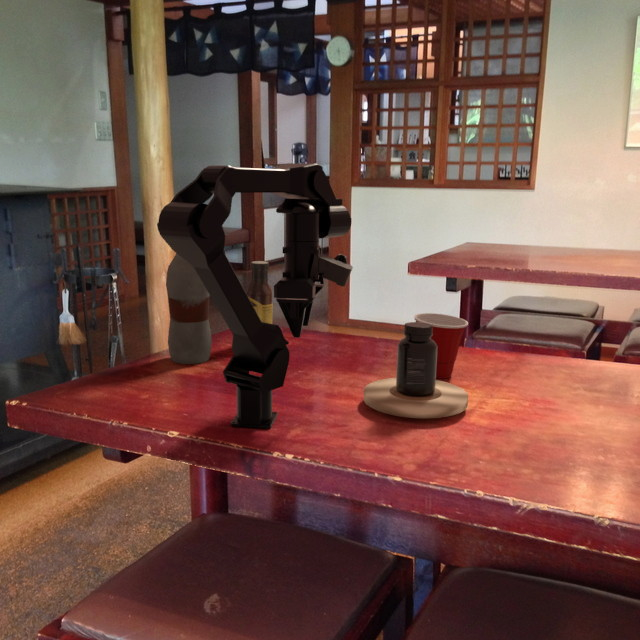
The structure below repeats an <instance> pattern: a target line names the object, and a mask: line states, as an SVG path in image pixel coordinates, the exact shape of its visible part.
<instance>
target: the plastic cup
mask: <svg viewBox="0 0 640 640" xmlns="http://www.w3.org/2000/svg"><path fill="white" fill-rule="evenodd" d="M413 317H414V321H415V322H422V323H428V324H431V325H432V326H433V329H432V333H433V336H432V337H431V339H432V340H434V341H435V342H436V344H437V367H436V380H442V379H443V380H444V379H448V378H449V379H450V377H452V374H453V371H454V366H455V362H456V360H457V355H458V351H459V348H460V344H461V341H462V337H463V334H464V333H465V329H466V328H467V327H468V325H469V322H468V321H467V320H466V319H464V318H461V317H457V316H453V315H450V314H443V313H432V312H430V313H429V312H423V313H417V314H414V316H413Z"/></svg>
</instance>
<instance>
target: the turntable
mask: <svg viewBox="0 0 640 640" xmlns="http://www.w3.org/2000/svg"><path fill="white" fill-rule="evenodd" d="M363 402H364V404H365V405H367V406H368V407H369V408H371V409H373V410H375V411H377V412H381V413H383V414H387V415H391V416H396V417H401V418H402V417H403V418H410V419H411V418H412V419H439V418H446V417H452V416H455V415H459V414H461V413H462V412H464V411H466V409H467V408H468V404H469V395H468V392H467V391H466V390H465V389H463V388H462V387H460V386H458V385H455V384H453V383H450V382H446V381H443V380H440V379H436V385H435V392H434V393H433V394H432V395H430V396H425V397H412V396H406V395H403V394H400V393H399V392H398V391H397V389H396V377H388V378H383V379H379V380H374V381H372V382H370V383H368V384H366V385H365V386H364V389H363Z"/></svg>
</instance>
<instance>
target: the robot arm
mask: <svg viewBox="0 0 640 640" xmlns="http://www.w3.org/2000/svg"><path fill="white" fill-rule="evenodd" d="M239 193H240V194H241V193H244V194H245V193H246V194H248V193H253V194H254V193H256V194H257V193H263V194H264V193H267V194H268V193H270V194H273V195H274V196H276V197H281V198H284V200H283V202H282V203H281V204H279V205H278V206H277V208H276V209H275V211H276V213H277V214H284V246H282V254H284V270H283V271H282V278H281V279H279V280H278V281H277V282H276V283H274V284H275V285H273V298H275V301H276V302H277V304H278V306H279V307H280V310H281V312H282V314H283V316H284V318H285V321H286V323H287V325H288V327H289V330H290V332H291V335H292V337H293V338H297V339H299V338H301V335H302V330H303V327H307V326H309V322H310V319H311V316H312V315H311V314H312V311H313V305H314V301H315V298H316V295H317V294H319V292H320V291H322V289H324V286H325V285H324V284H326V280H328V281H330V282H333V283H335V284H336V285H337V286H340V287H343V288H345V287H346V285H347V283H348V281H349V278H350V275H351V273H352V271H353V268H354V267H353V266H352V265H351V264H349V263H348V257H347V256H346V255H345V254H342V253H338V254H337V255H336V256H335V257H334V258H333V257H332V256H327V255H325V254H323V247H321V244H320V239H329V238H339V237H343V236H345V235H347V233H349V232H350V230H351V226H352V217H351V214H350V212H349V210H348V208H347V207H345V206H344V205H343V198H339V197H338V198H337V197H336V196H335V193H334V191H333V188H332V186H331V184H330V181H329V179H328V177H327V175H326V173H325V171H324V167H323V165H321V164H319V163H286V164H281V165H276V166H274V167H272V168H256V167H255V168H253V167H252V168H251V167H234V166H232V165H224V164H223V165H208V166H206V167H204V168H203V169H202V170H201V171H200V172H199V174H198V175H197V176H196V178H195V179H194V180H192V181H191V182H190V183H189V184H188V185H186V186H185V187H184V188H182V189H181V190H179V191H178V192H177V193H176V194H175V195H174V197H173V198H172V199H171V201H170V202H169V203H167V204H166V205H164V206H163V208H162V209H161V210H160V213H159V216H158V221H157V224H156V225H157V230H158V232H159V236H160V237H161V238H162V239H163V241H164V242H165V243H166V244H167V245H168V246H169V248H171V250H172V251H173V252H174V253H175V254H176V253H177V254H178V255H180V256H181V257H182V258H184V259H185V260H186V261H188V262H189V263H190V264H191V265H192V266H193V267H194V269H195V270H196V272H197V274H198V276H199V277H200V279H201V281H202V282H203V284H204V286H205V288H206V289H207V291H208V293H209V294H210V297H211V299H212V302H213V303H214V305H215V306H216V308H217V309H218V311H219V313H220V315H221V317H222V319H223V320H224V322H225V323H226V325H227V327H228V328H229V330H230V332H231V334H232V343H231V350H232V353H233V355H232V356H231V358H230V360H229V362H228V363H227V365H226V366H225V368H224V369H223V372H222V373H223V377H224V381H225V383H228V384H232V385H236V415H235V416H234V417H233V418H232V420H231V422H230V426H231V427H240V428H258V429H270V428H272V426H273V424H274V423H275V421H276V419H277V417H278V412H277V411H273V390H276V389H280V388H282V387H284V384H285V381H286V376H287V372H288V368H289V363H290V350H289V347H288V345H289V343H290V342H289V341H288V340H287V339H286V338H285V335H284V334H283V331H282V329H281V327H280V326H279V324H273V323H272V324H269V323H264V322H261V320H260V318H259V316H258V314H257V312H256V311H255V309H254V307H253V305H252V303H251V301H250V299H249V298H248V296H247V292H246V290H245V289H244V287H243V284H242V283H241V281H240V279H239V277H238V276H237V274H236V272H235V270H234V268H233V266H232V264H231V262H230V261H229V258H228V257H227V256H226V253H225V251H224V250H225V242H226V234H225V233H226V232H225V230H224V227H223V225H224V224H225V222H226V220H227V219H228V218H229V216H230V214H231V211H232V204H233V202H232V201H233V198H234V196H235V194H239ZM212 196H213V197H212ZM208 200H210V201H209V202H208V204H207V203H205V202H207V201H208ZM317 283H319V284H317ZM250 372H252V373H257V374H261V376H259V375H255V374H252V373H250Z"/></svg>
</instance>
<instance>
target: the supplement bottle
mask: <svg viewBox="0 0 640 640" xmlns="http://www.w3.org/2000/svg"><path fill="white" fill-rule="evenodd" d="M403 327H404V329H403V335H404V337H403V338H401V339H400V340H399V341H398V343H397V354H396V356H397V357H396V376H395V378H396V389H397V391H398V392H399V393H400V394H403V395H406V396H412V397H425V396H430V395H432V394H433V393H434V392H435V385H436V380H437V379H436V367H437V344H436V342H435V341H434V340H432V339H431V337H432V336H433V333H432V329H433V326H432V325H431V324H428V323H422V322H416V321H411V322H405V323H404V326H403Z"/></svg>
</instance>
